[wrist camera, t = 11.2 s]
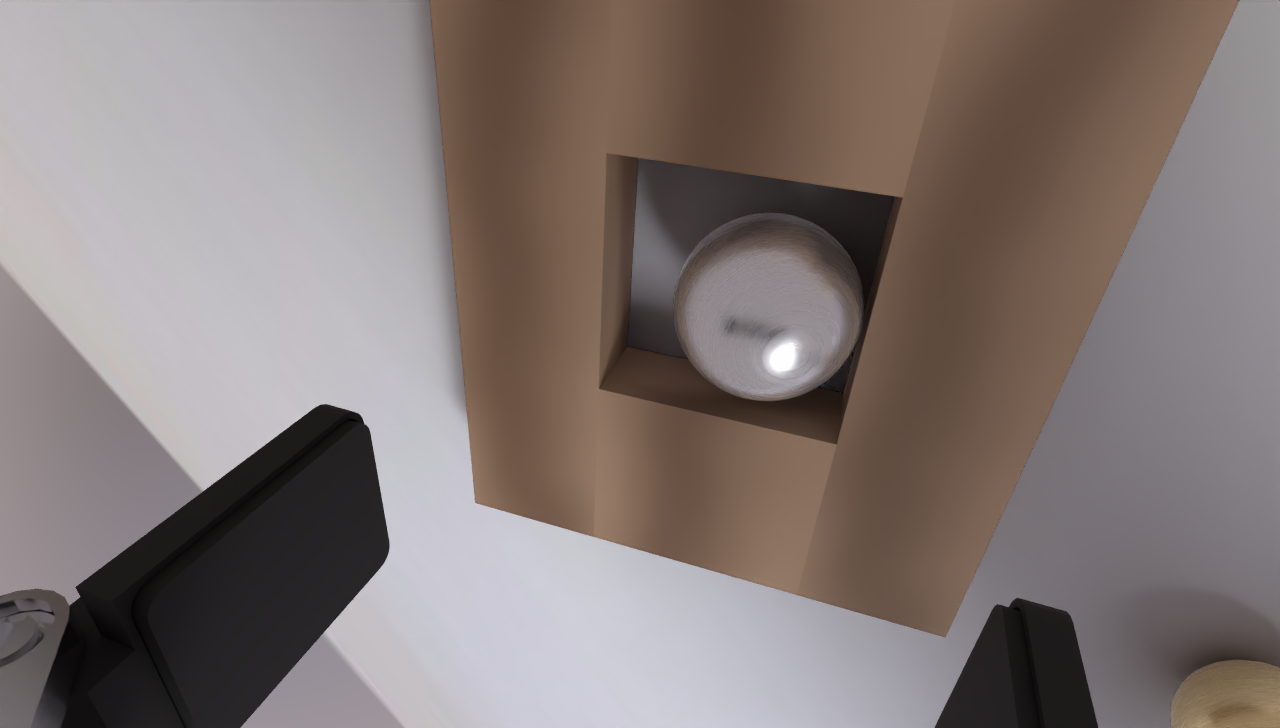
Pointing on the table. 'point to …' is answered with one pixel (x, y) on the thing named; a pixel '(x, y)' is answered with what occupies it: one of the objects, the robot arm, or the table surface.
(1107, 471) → the table surface
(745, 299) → the steel ball
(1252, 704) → the brass ball
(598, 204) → the pocket plate
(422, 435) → the table surface
